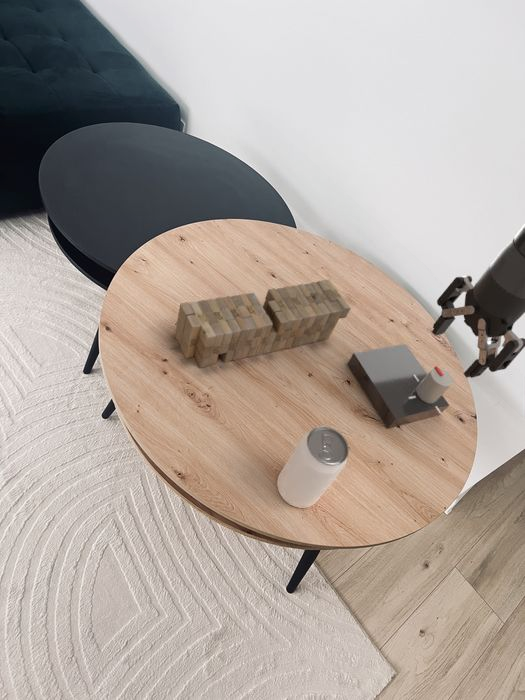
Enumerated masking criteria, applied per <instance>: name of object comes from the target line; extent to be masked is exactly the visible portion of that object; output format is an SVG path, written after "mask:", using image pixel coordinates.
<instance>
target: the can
mask: <svg viewBox="0 0 525 700" xmlns="http://www.w3.org/2000/svg"><path fill="white" fill-rule="evenodd" d="M349 451H350V449H349V445H348V442H347V440H346V438H345V437H344V435H343V434H342V433H340V432H339V431H338V430H336V429H334V428H333V427H330V426H325V425H320V426H316V427H314V428H313V429H311V430H310V431H307V432H306V433H305V434H304V435H303V437H302V438H301V439H300V441H299V442H298V444H297V445H296V447H295V448H294V450H293V452H292V453H291V455H290V456H289V458H288V459H287V462H286V463H285V464H284V465H283V468H282V469H281V471H280V473H279V474H278V477H277V482H276V485H277V490H278V492H279V495H280V497H281V498H282V499H283V500H284V501H285V502H286V503H287V504H289V505H290V506H293V507H295V508H300V509H306V508H309V507H312V506H313V505H315V504H316V503H317V502H318V501H319V499H320V498H321V497H322V496H323V495H324V493H325V492H326V491H327V489H328V488H329V487H330V486H331V484H332V483H333V482H334V481H335V479H336V478H337V477H338V476H339V474H340V473H341V472H342V471H343V469H344V468H345V467H346V464H347V461H348V457H349V453H350V452H349Z"/></svg>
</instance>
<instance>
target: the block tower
mask: <svg viewBox="0 0 525 700" xmlns="http://www.w3.org/2000/svg"><path fill="white" fill-rule="evenodd" d="M264 299H265V300H264V302H263V305H262V304H261V303H260V301H259V299H258V297H257V295H256V294H255V292H248V293H241V294H238V295H231V296H229V295H228V296H224V297H222V296H219V297H215V298H209V299H203V300H198V301H192V302H182V303H180V304H179V309H178V315H177V321H176V326H175V331H174V337H175V339H176V341H177V343H178V345H179V346H180V351H181V352H182V353H183V355H184V357H185V358H186V359H189V358H193V357H194V358H195V361H196V362H197V364H198V366H199V368H200V369H202V368H206V367H208V366H214V365H217V363H218V358H219V355H220V358H221V359H222V361H223V362H224V363H228V362H232V361H237V360H242V359H246V358H247V357H248V358H250V357H254V356H259V355H265V354H269V353H273V352H274V353H275V352H277V351H281V350H284V349H285V350H286V349H290V348H295V347H298V346H303V345H308V344H312V343H317V342H318V341H321V340H323V341H324V340H328V339H329V338H330V337H331V335H332V334H333V331H334V329H335V328H336V325H337V323H338V322H339V320H340V319H345V318H347V316H348V315H349V313H350V311H351V306H350V305H349V303H348V302H347V301H346V299H345V298H344V296H343V295H342V294H341V292H340V291H339V290H338V289H337V287H336V286H335V285H334V284H333V282H332V281H331V279H324V280H318V281H314V282H310V283H305V284H303V283H302V284H297V285H291V286H290V285H289V286H284V287H278V288H269V289H268V290H267V293H266V295H265V298H264Z"/></svg>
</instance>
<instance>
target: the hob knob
mask: <svg viewBox="0 0 525 700" xmlns="http://www.w3.org/2000/svg"><path fill="white" fill-rule="evenodd" d="M453 383H454V379H453V376H452V375H451V373H450V372H449V371H448V370H447V369H445V368H443V367H441V366H438V365H435V366H433V367H432V368H431V369H430V370H429V372H428V373H427V375H426V377H425V378H424V379H423V380H422V382H421V383H420V384H419V385H418V386H417V389H416V392H417V395H418V396H419V397H420V399H422V400H423V401H424V402H427V403H431V404H432V403H435V402H437V400H438V399H439V398H440V397H441V396H442V395H443V396H444V394H445V393H446V392H447V391H448V390H449V388H450V387H451V386H452V385H453Z"/></svg>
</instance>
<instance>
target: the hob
mask: <svg viewBox="0 0 525 700" xmlns="http://www.w3.org/2000/svg"><path fill="white" fill-rule="evenodd" d="M347 366H348V367H349V369H350V371H351V372H352V374H353V375H354V377H355V378H356V380H357V382H358V383H359V386H360V387H361V388H362V390H363V392H364V393H365V395H366V396H367V398H368V399H369V401H370V403H371V404H372V406H373V407H374V409H375V411H376V412H377V414H378V416H379V418H380V419H381V421H382V422H383V424H384V426H385V427H386V428H387V430H389V429H392V428H396V427H400V426H403V425H404V426H405V425H407V424H411V423H414V422H419V421H422V420H427V419H429V418H432V417H433V418H434V417H436V415H437V416H440V415H441V414H443V412H444V411H445V410H446V409H447V408H448V407H449V406H450V404H449V402H448V401H447V400H446V398H445V397H444V394H443V395H442V396H441V397H440V398H439V399H438V400H437V402H435V403H432V404H431V403H427V402H424V401H423V400H422V399H420V397H419V396H418V395H417V392H416V389H417V386H418V385H419V384H420V383H421V382H422V380H423V379H424V378H425V377H426V375H427V374H428V373H427V372H426V370H425V369H424V367H423V365H422V364H421V363H420V362H419V360H418V359H417V358H416V356H415V355H414V354H413V352H412V351H411V349H410V348H409V346H408V345H407V343H401V344H397V345H392V346H385V347H381V348H374V349H369V350H364V351H358V352H354V353H353V354H352V356H350V359H349V360H348V361H347Z"/></svg>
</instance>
